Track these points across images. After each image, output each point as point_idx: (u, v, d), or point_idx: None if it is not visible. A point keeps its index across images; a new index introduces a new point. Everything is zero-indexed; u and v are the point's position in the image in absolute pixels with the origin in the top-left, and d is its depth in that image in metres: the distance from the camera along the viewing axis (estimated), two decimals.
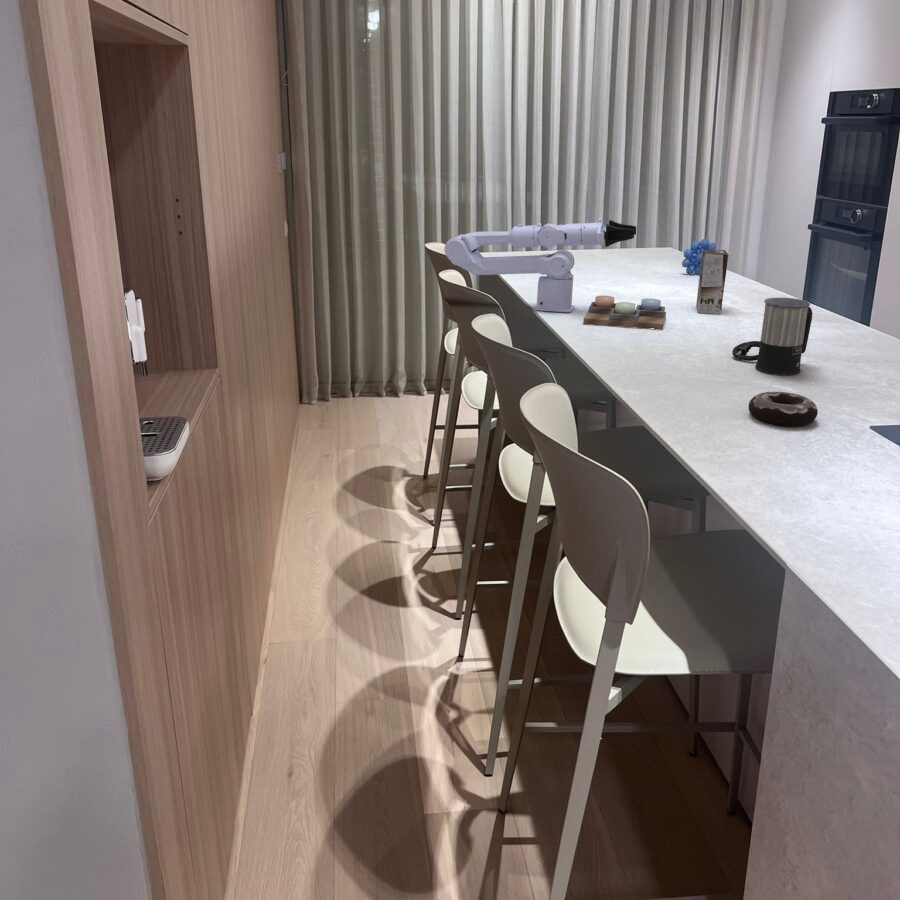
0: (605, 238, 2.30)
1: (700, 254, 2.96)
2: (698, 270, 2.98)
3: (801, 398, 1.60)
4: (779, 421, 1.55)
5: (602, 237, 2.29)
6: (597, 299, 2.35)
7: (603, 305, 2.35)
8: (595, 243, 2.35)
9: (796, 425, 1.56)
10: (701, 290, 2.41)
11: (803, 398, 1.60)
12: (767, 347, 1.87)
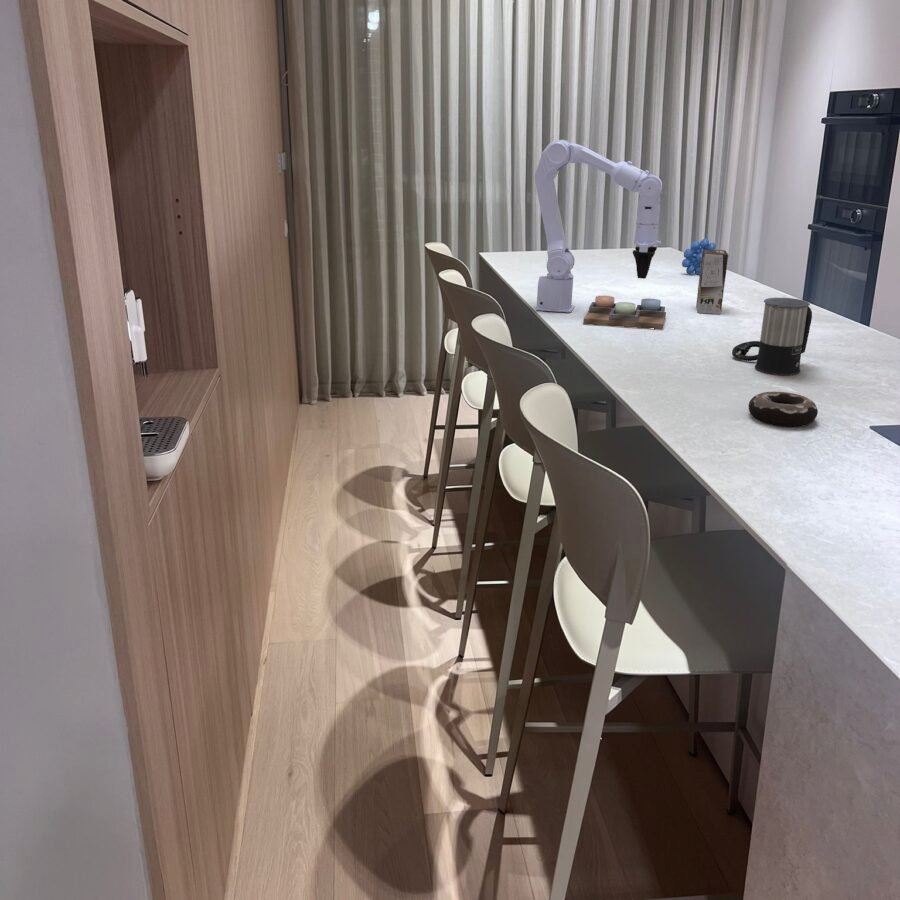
0: (641, 252, 2.29)
1: (700, 254, 2.96)
2: (698, 270, 2.98)
3: (801, 398, 1.60)
4: (780, 421, 1.55)
5: (642, 250, 2.27)
6: (597, 299, 2.35)
7: (603, 305, 2.35)
8: (636, 237, 2.32)
9: (796, 425, 1.56)
10: (701, 290, 2.41)
11: (803, 398, 1.60)
12: (767, 347, 1.87)
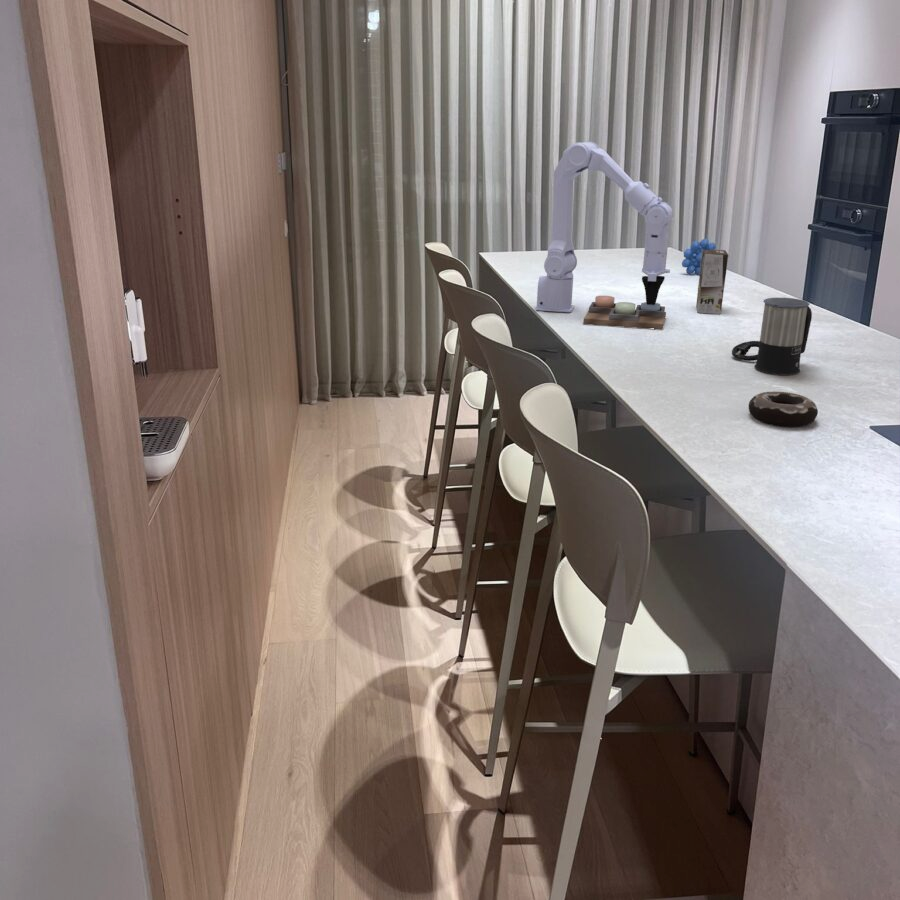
0: None
1: (700, 254, 2.96)
2: (698, 270, 2.98)
3: (801, 398, 1.60)
4: (780, 421, 1.55)
5: (651, 279, 2.24)
6: (597, 299, 2.35)
7: (603, 305, 2.35)
8: (644, 265, 2.29)
9: (796, 425, 1.56)
10: (701, 290, 2.41)
11: (803, 398, 1.60)
12: (766, 347, 1.87)
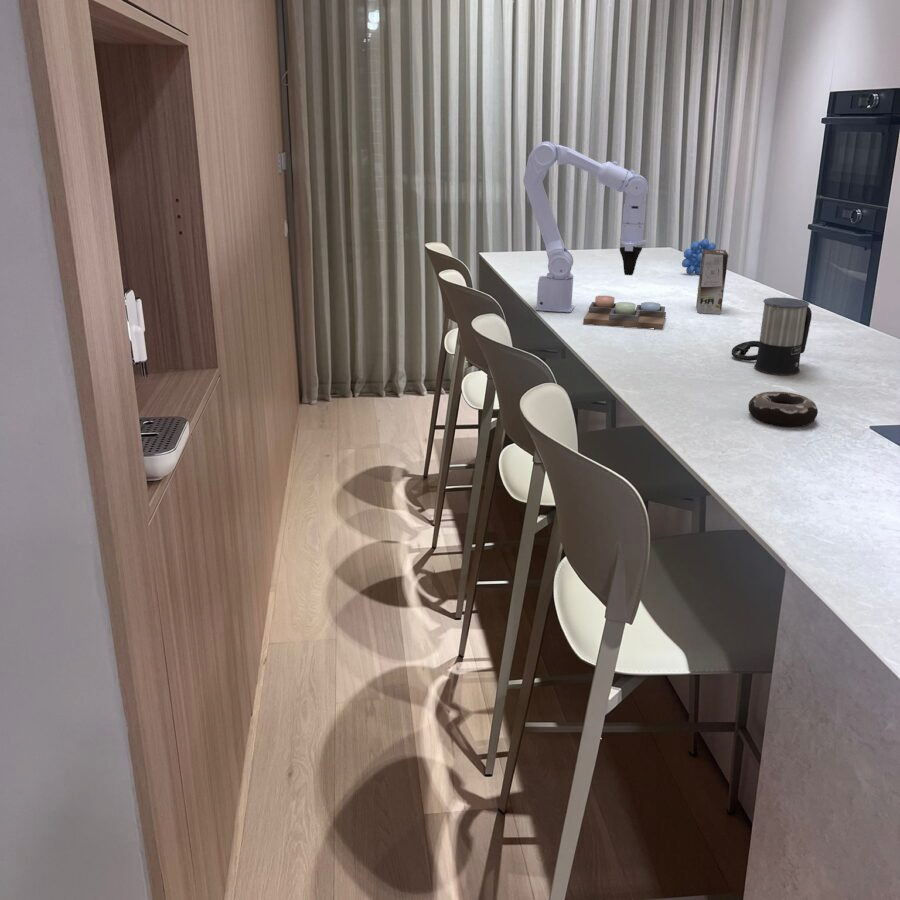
0: None
1: (700, 254, 2.96)
2: (698, 270, 2.98)
3: (801, 398, 1.60)
4: (780, 421, 1.55)
5: (628, 249, 2.30)
6: (597, 299, 2.35)
7: (603, 305, 2.35)
8: (622, 236, 2.35)
9: (796, 425, 1.56)
10: (701, 290, 2.41)
11: (803, 398, 1.60)
12: (766, 347, 1.87)
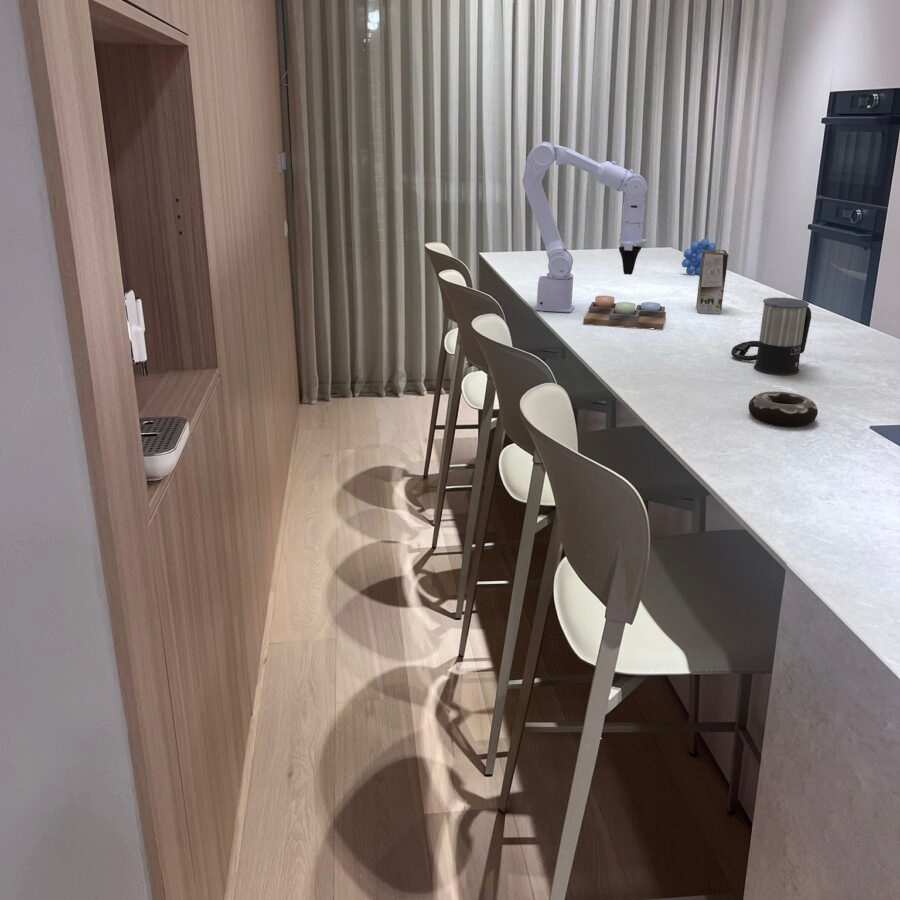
0: None
1: (700, 254, 2.96)
2: (698, 270, 2.98)
3: (801, 398, 1.60)
4: (780, 421, 1.55)
5: (627, 248, 2.30)
6: (597, 299, 2.35)
7: (603, 305, 2.35)
8: (621, 235, 2.35)
9: (796, 425, 1.56)
10: (701, 290, 2.41)
11: (803, 398, 1.60)
12: (766, 347, 1.87)
